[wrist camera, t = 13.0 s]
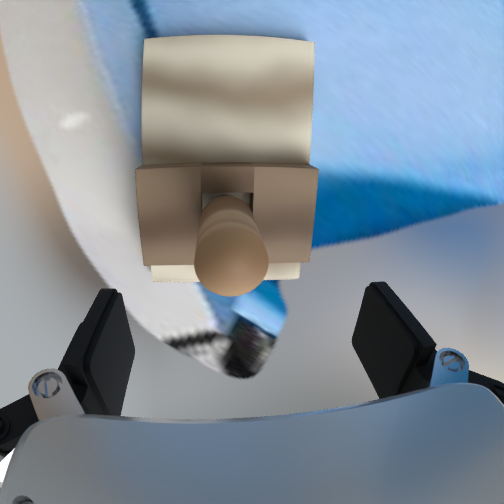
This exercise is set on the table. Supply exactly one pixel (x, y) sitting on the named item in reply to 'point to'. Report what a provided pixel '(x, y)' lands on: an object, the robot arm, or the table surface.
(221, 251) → the tan rounded cylinder
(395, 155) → the table surface
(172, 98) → the subfloor panel
